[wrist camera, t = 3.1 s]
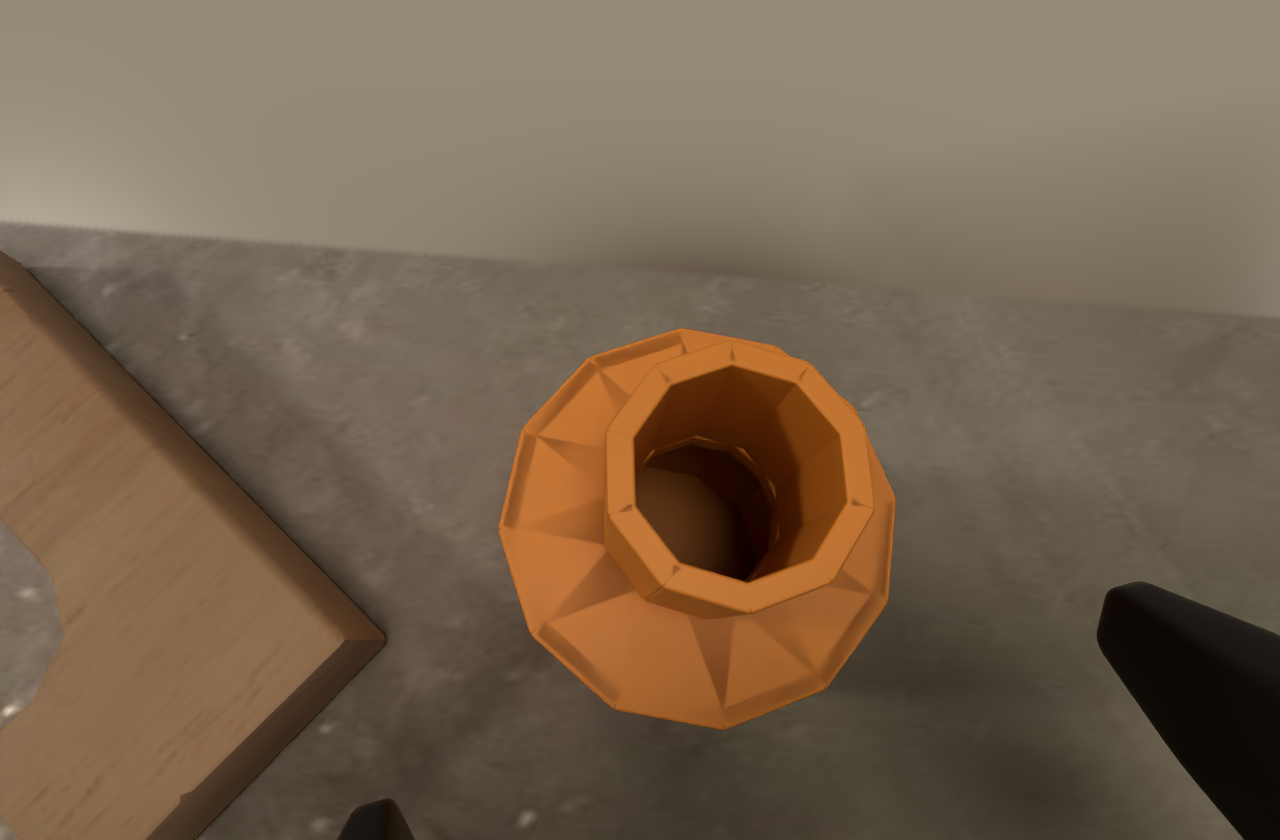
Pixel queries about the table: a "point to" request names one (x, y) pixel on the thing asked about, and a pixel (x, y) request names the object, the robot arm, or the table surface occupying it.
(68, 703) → the wooden block
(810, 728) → the table surface
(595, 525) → the bottle
